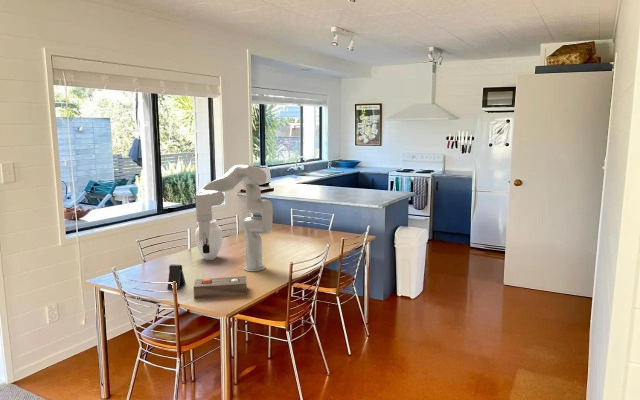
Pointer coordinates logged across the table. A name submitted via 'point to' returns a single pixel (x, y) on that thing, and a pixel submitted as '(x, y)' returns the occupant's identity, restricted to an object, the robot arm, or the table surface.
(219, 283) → the plug block
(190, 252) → the table surface
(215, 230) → the vase
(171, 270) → the phone stand
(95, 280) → the table surface
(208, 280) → the red plug
